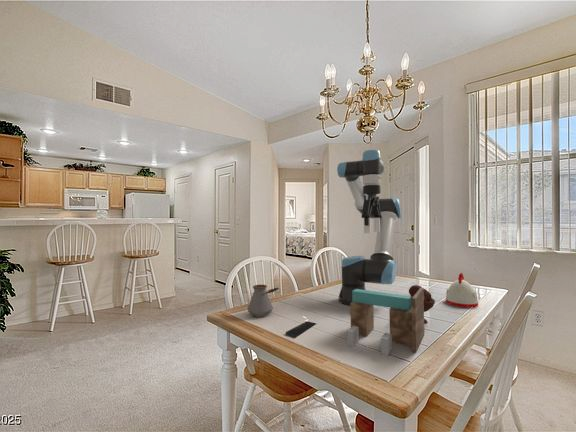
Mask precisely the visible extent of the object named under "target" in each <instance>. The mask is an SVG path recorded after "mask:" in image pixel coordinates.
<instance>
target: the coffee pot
mask: <svg viewBox="0 0 576 432" xmlns="http://www.w3.org/2000/svg"><path fill="white" fill-rule="evenodd" d="M267 287H268V286H267V285H266V284H255V285H254V284H253V286H252V288H253V294H252V296H251V299H250V302H249V304H248V306H247V311H248V313H249V314H250V315H251V316H252V315H253V316H252V317H254V316H255V317H254V318H264V316H265V317H267V316H269V315H270V314H271V312H272V311H273V308H274V307H273V305H272V301H271V300H270V297H269V294H271V293H274V292H276V293H278V294H279V293H280V291H279V292H278V290H280V288H279V287H274V288H271V289H270V290H268V291H267Z"/></svg>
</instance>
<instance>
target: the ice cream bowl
mask: <svg viewBox="0 0 576 432" xmlns="http://www.w3.org/2000/svg"><path fill="white" fill-rule="evenodd" d="M420 288H423V286H421V285H418V284H414V285H411V286H410V287H409V289H408V293H409V296H412V297H413V296H414V295H415V294H416V293H417V291H418V290H419V289H420ZM435 303H436V300H435V299H434V298H433V297H432V294H431V293H430V291H428V290H427V289H426V288H424V313H425V312H428V311H429V310H431V309H432V308H433V307H434V305H435ZM428 323H429V321H428V320H427V319H425V318H424V325H427V324H428Z"/></svg>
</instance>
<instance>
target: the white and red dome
mask: <svg viewBox="0 0 576 432" xmlns="http://www.w3.org/2000/svg"><path fill="white" fill-rule="evenodd" d="M478 299H479V298H478V293H477V290H475V289H474V287H473V286H472V285H471V284H470V283H469V282H468V281H466V280H465V276H464V275H463V273H462V272H460V273H459V274H458V279H457V280H454V281H453V282H452V283H451V284H450V286H449V287H447V288H446V293H445V302H446V304H448V305H451V306H454V307H459V308H468V309H470V308H471V307H473V308H477V307H478V306H479V300H478ZM476 306H477V307H476Z"/></svg>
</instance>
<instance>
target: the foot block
mask: <svg viewBox="0 0 576 432" xmlns="http://www.w3.org/2000/svg"><path fill="white" fill-rule="evenodd" d="M349 306H350V328H351V327H352V326H357V327H359V336H362V337H365V338H367V337H368V336H369V335H370V334H371V333H372V332H373V331H374V329H375V325H374V324H375V322H374V321H375V318H374V314H375V313H374V305H370V304H363V303H357V302H351V303H350V305H349Z"/></svg>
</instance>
